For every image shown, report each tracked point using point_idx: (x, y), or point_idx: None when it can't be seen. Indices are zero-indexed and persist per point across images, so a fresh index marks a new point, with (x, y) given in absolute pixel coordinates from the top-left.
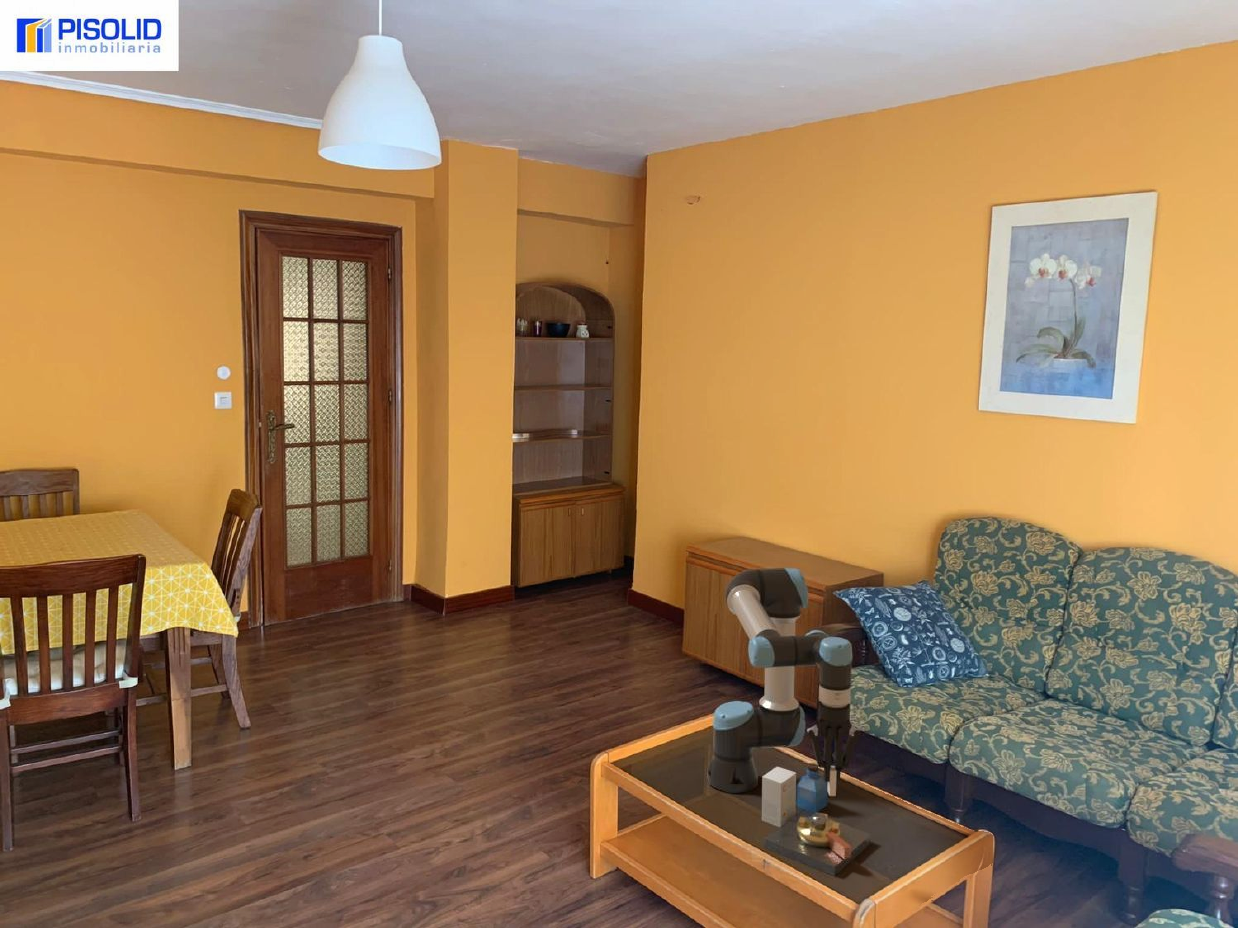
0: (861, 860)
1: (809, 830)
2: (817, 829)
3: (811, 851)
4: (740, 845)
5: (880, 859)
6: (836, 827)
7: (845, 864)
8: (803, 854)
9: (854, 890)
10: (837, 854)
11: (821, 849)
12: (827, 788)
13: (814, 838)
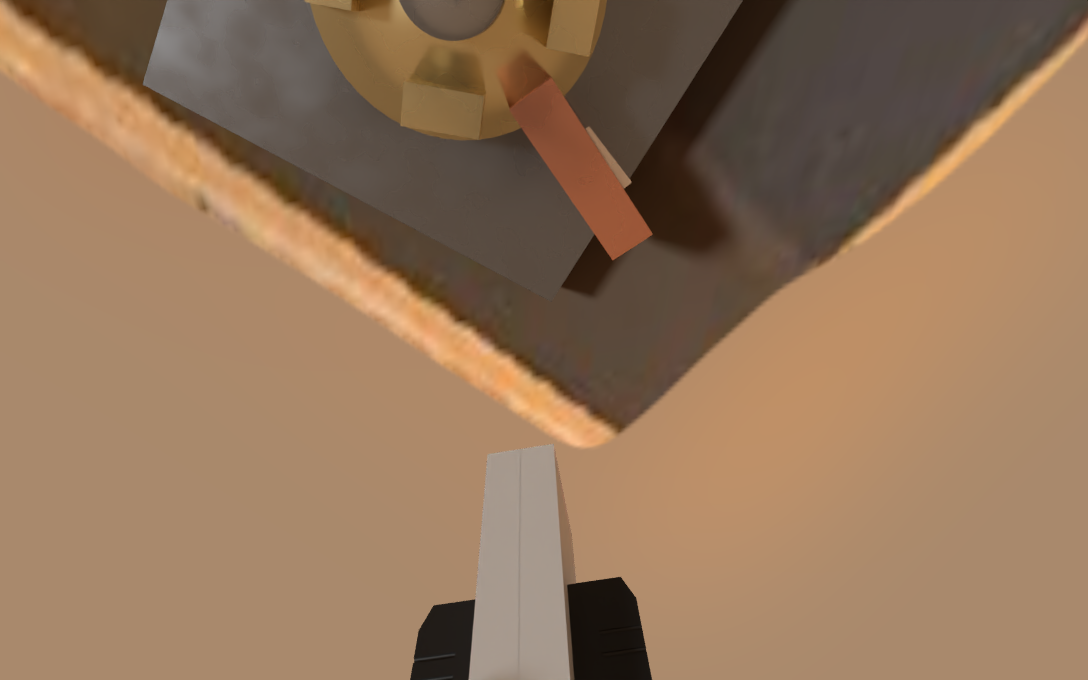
0: (698, 117)
1: (399, 50)
2: None
3: (431, 181)
4: (33, 83)
5: (802, 87)
6: (581, 32)
7: None
8: (391, 215)
9: (628, 368)
10: None
11: (486, 149)
12: (486, 470)
13: (438, 136)
